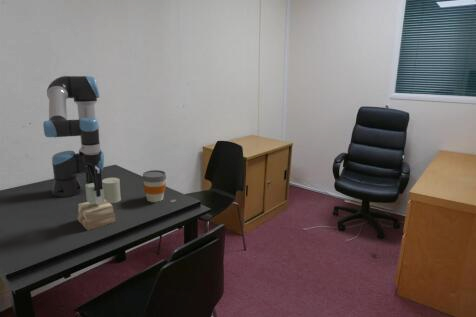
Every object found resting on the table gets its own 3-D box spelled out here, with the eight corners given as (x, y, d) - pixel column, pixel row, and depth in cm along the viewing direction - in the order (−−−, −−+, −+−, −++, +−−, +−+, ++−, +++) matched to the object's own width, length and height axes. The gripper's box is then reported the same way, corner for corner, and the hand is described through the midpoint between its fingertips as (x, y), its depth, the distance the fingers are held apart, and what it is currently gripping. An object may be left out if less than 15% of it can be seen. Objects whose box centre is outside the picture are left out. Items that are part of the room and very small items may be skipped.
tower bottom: (78, 221, 167) (77, 212, 165) (104, 213, 175) (104, 205, 174) (87, 231, 157) (87, 222, 156) (115, 223, 166) (115, 214, 165)
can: (115, 204, 185) (113, 183, 182) (99, 202, 187) (98, 181, 183) (124, 197, 194) (122, 177, 190) (109, 195, 195) (107, 175, 192)
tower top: (78, 212, 165) (77, 203, 164) (103, 206, 173) (102, 197, 172) (87, 221, 157) (86, 212, 156) (113, 214, 165) (113, 205, 163)
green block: (86, 200, 163) (85, 184, 160) (99, 197, 167) (98, 181, 164) (91, 204, 159) (90, 188, 156) (104, 201, 163) (103, 185, 160)
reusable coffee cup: (150, 193, 201) (149, 168, 197) (170, 196, 198) (170, 171, 194) (139, 201, 189) (137, 175, 185) (159, 205, 186) (159, 178, 182)
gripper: (75, 149, 160) (80, 195, 167) (91, 159, 147) (95, 209, 153) (91, 147, 165) (95, 192, 172) (108, 156, 152) (111, 204, 158)
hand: (95, 200), depth 163 cm, fingers closed on green block, 6 cm apart
